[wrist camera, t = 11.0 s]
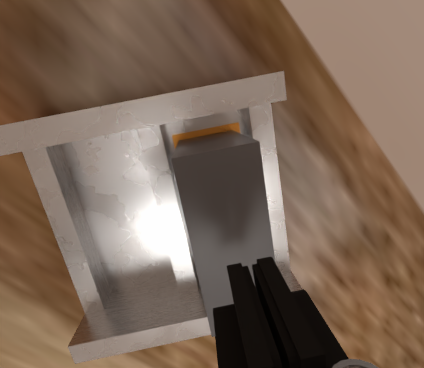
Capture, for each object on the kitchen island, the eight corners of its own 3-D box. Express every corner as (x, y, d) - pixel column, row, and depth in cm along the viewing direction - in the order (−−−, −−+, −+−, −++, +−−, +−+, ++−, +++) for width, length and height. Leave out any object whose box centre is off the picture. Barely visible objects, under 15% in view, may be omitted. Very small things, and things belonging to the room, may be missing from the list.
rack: (280, 268, 24) (308, 316, 18) (104, 305, 24) (76, 366, 18) (256, 83, 20) (283, 70, 14) (39, 125, 19) (-26, 130, 14)
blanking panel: (251, 248, 22) (284, 321, 14) (204, 258, 22) (210, 337, 14) (232, 129, 19) (260, 141, 12) (178, 140, 19) (169, 159, 12)
